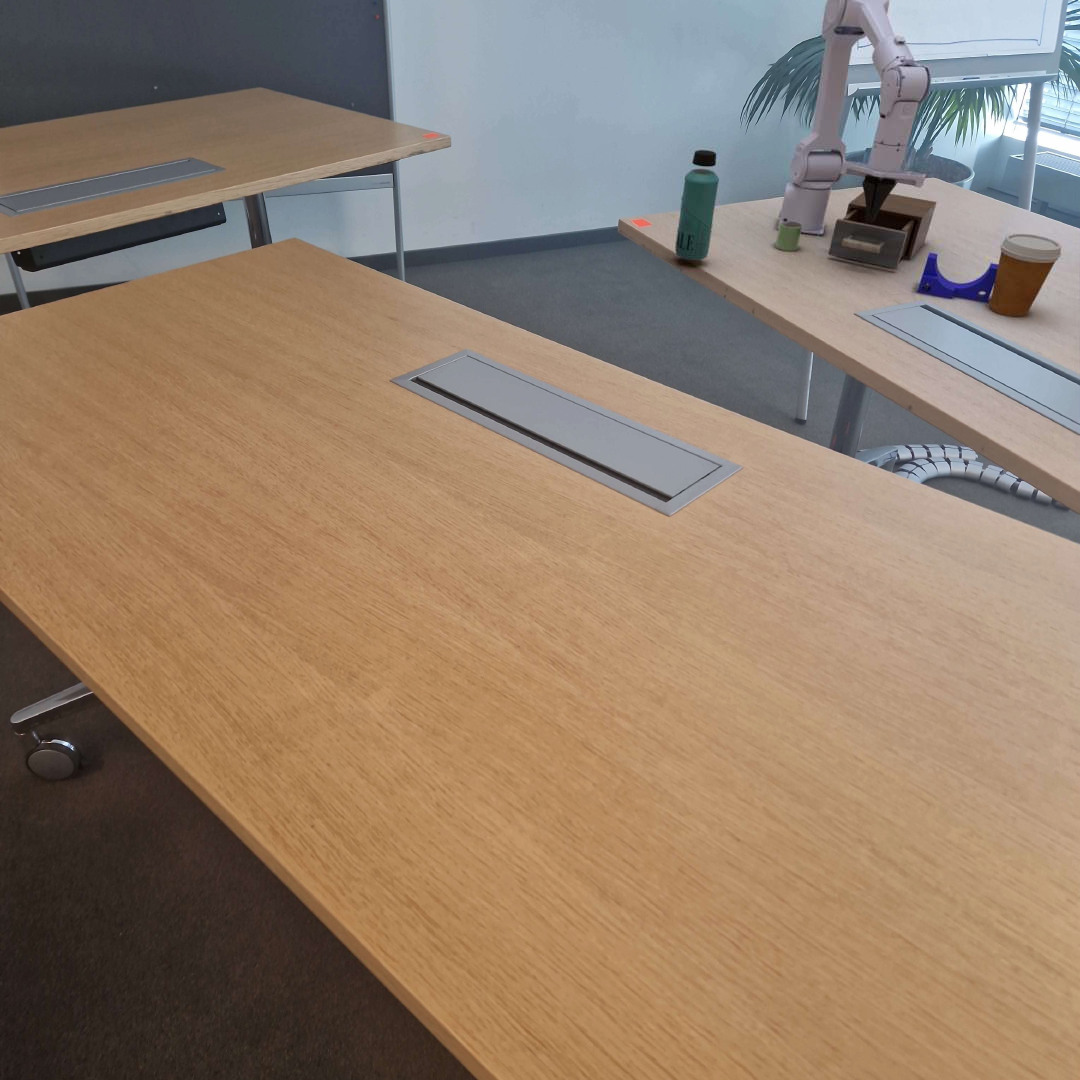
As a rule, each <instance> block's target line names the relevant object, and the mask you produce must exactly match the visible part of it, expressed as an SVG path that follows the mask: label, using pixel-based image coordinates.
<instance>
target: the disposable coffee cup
mask: <svg viewBox="0 0 1080 1080" xmlns="http://www.w3.org/2000/svg"><path fill="white" fill-rule="evenodd" d="M1061 249H1062V245H1061V244H1060V243H1059V242H1058V241H1056V240H1054V239H1051V238H1048V237H1045V236H1041V235H1035V234H1028V233H1011V234H1008V235H1006V237H1005V238H1004V240H1003V241H1002V242H1001V243H1000V256H999V261H998V263H997V264H998V269H997V274H996V278H995V282H994V286H993V289H992V291H991V295H990V296H991V297H990V301H989V304H988V307H989V308H990V310H992V311H993V312H995V313H997V314H1000V315H1003V316H1008V317H1025V316H1027V315H1028V314H1029V311H1030V310H1031V308H1032V306H1033V304H1034V302H1035V300H1036V299H1037V297H1038V295H1039V293H1040V291H1041V289H1042V287H1043V285H1044V283H1045V281H1046V280H1047V278H1048V276H1049V274H1050V272H1051V270H1052V269H1053V268H1054V265H1055V263H1056V262H1057V261H1058V260H1059V259H1060V258H1061V256H1062V252H1061V251H1062V250H1061Z"/></svg>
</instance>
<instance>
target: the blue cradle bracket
mask: <svg viewBox="0 0 1080 1080" xmlns="http://www.w3.org/2000/svg"><path fill="white" fill-rule="evenodd" d="M938 256H939V254H938V253H934V252H929V253H928V256H927V259H926V262H925V266H924V269H923V271H922V275H921V277H920V281H919V285H918V288H917V290H916V292H917V293H919V294H923V295H929V296H935V297H940V298H946V299H951V300H952V299H953V297H956V298H960V299H967V300H971V301H977V302H982V303H988V302H989V300H990V298H991V297H990V296H991V295H992V292H993V287H994V282H995V278H996V274H997V269H998V264H999V263H993V262H991V263H990V264H989V266H988V268H987V269H986V271H985V272H984V273H983V274H982V275H981V276H980V277H978V278H976V279H975V280H972V281H969V282H964V283H963V282H962V283H961V282H954V281H951V280H950V279H947V278H946V277H945V276H944V275H943V274H942V273H941V271H940V270H939V267H938ZM982 292H983V293H984V294H981V293H982Z"/></svg>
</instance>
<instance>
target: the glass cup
mask: <svg viewBox="0 0 1080 1080" xmlns="http://www.w3.org/2000/svg"><path fill="white" fill-rule="evenodd" d="M801 230H802V225H801V224H800V223H797V222H792V221H784V222H781V223H780V226H779V229H778V231H777V237H776V242H775V248H776V249H778V250H781V251H784V252H785V251H786V252H793V251H797V250H798V248H799V243H800V239H801V235H802V232H801Z"/></svg>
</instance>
